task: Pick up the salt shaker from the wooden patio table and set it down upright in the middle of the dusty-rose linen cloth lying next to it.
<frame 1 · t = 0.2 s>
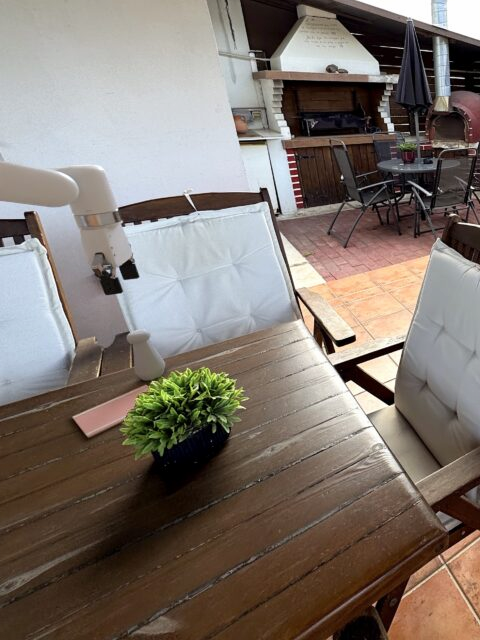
hand: (123, 286, 99), 23 cm above the table, tool pointing down, fingers open, 9 cm apart
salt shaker: (153, 376, 103), on the table
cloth: (119, 409, 91), on the table
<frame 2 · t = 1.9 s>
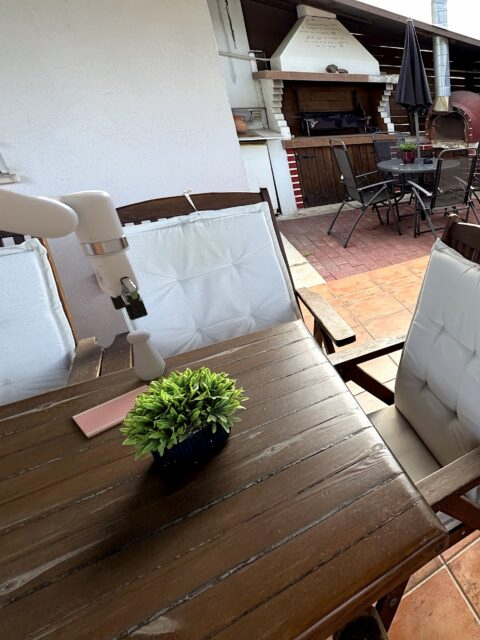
hand: (131, 312, 97), 18 cm above the table, tool pointing down, fingers open, 9 cm apart
nothing on the table moved.
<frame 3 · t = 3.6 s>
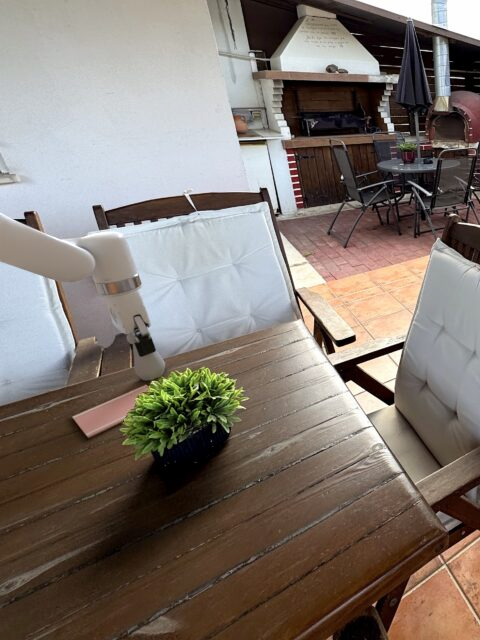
hand: (143, 350, 100), 8 cm above the table, tool pointing down, fingers closed on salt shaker, 4 cm apart
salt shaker: (153, 376, 103), on the table, touching gripper
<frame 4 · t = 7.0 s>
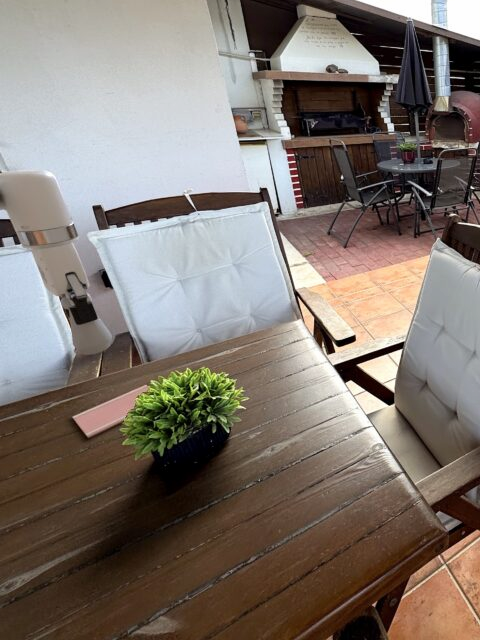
hand: (83, 318, 83), 23 cm above the table, tool pointing down, fingers closed on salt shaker, 4 cm apart
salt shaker: (96, 350, 86), point 16 cm above the table, touching gripper
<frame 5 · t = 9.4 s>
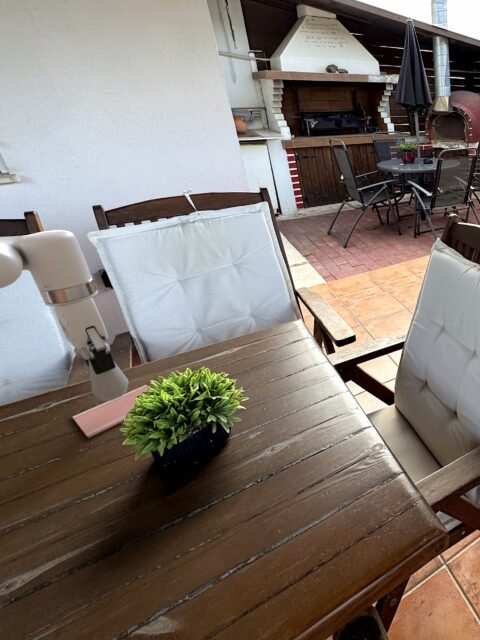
hand: (101, 366, 87), 12 cm above the table, tool pointing down, fingers closed on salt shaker, 4 cm apart
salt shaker: (114, 395, 90), point 4 cm above the table, touching gripper
when the fingers open (8 cm above the table, at t = 10.7 s): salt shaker stays where it is, resting on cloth.
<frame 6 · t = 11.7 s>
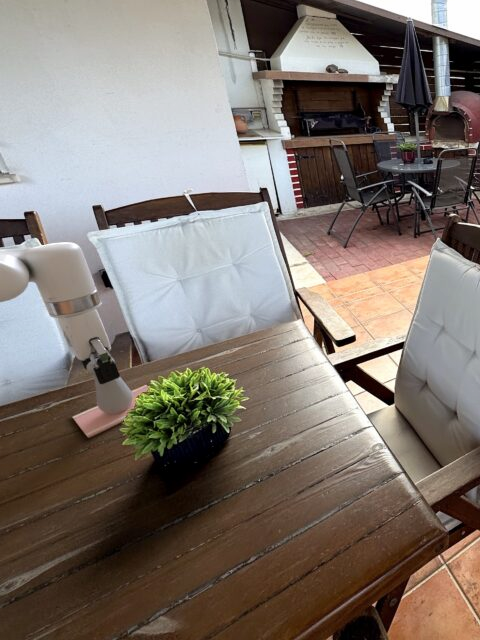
hand: (102, 373, 87), 10 cm above the table, tool pointing down, fingers open, 9 cm apart
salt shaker: (119, 409, 91), resting on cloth
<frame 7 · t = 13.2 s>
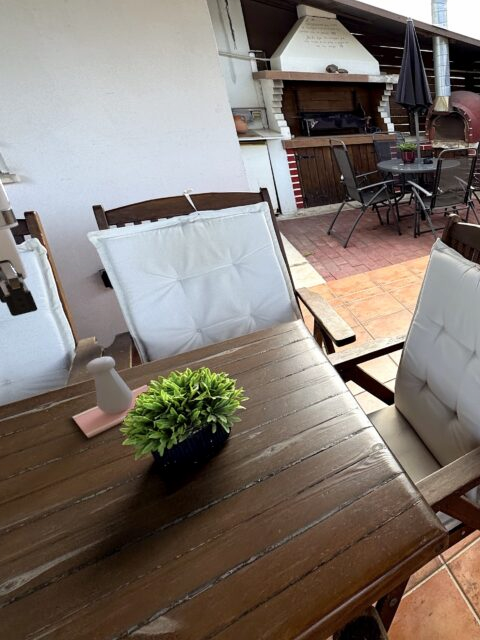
hand: (19, 306, 77), 29 cm above the table, tool pointing down, fingers open, 9 cm apart
nothing on the table moved.
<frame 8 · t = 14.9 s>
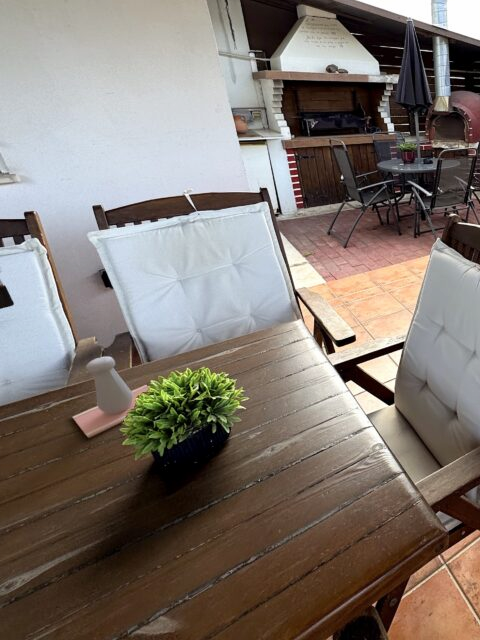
nothing on the table moved.
at the end: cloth 0.0 cm off-centre on the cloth, point 0.0 cm above the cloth's base; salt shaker inside the target area on the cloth (0.0 cm from its centre), point 0.2 cm above the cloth's base; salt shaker tilted 0° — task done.
